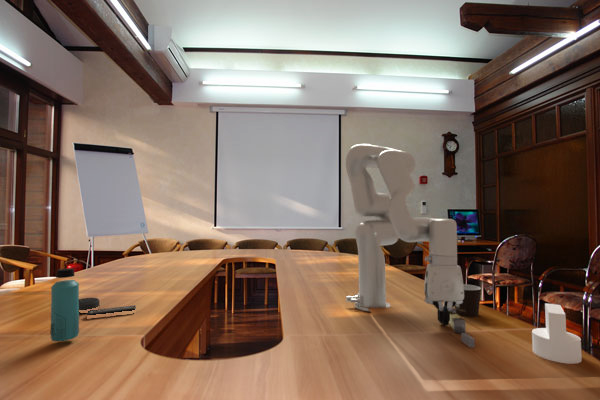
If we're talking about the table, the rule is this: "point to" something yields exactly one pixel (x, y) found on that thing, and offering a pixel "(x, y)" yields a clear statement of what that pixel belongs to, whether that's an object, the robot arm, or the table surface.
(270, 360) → the table surface
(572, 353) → the cylinder with rectangular tab
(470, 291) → the coffee mug
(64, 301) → the beverage bottle
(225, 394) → the table surface
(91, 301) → the smart speaker
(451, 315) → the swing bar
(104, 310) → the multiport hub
